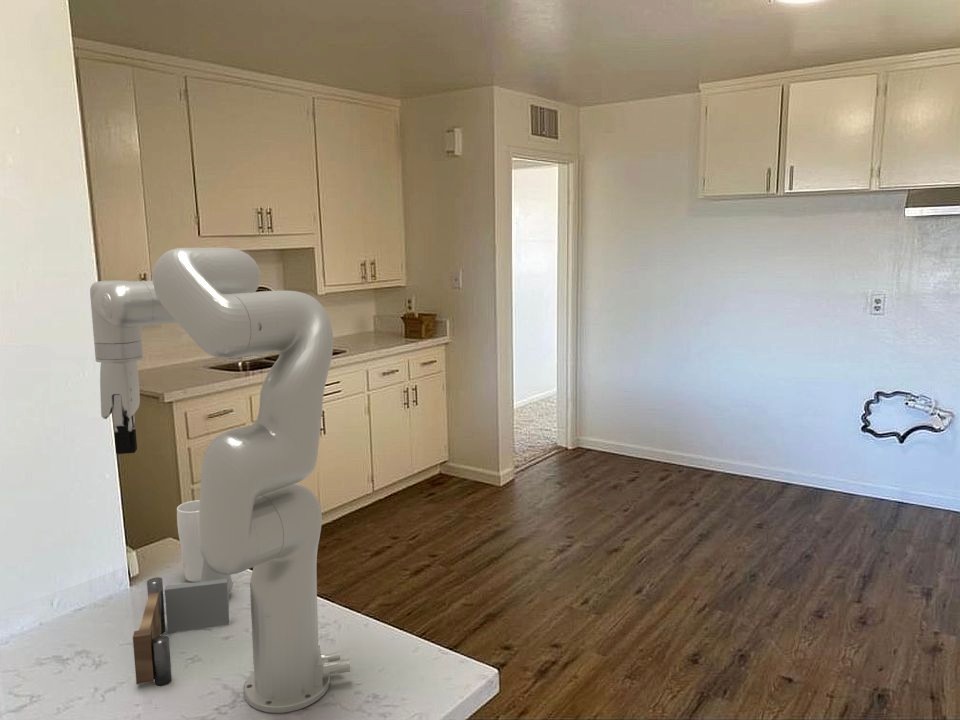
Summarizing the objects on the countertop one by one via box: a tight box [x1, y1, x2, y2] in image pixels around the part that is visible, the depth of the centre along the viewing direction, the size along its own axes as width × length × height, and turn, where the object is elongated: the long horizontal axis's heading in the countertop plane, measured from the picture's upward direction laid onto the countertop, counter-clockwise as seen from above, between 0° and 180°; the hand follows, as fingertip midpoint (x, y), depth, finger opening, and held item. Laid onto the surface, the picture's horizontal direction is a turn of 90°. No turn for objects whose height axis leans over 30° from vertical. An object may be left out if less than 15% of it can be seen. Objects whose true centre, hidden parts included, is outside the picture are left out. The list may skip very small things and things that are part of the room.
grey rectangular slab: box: [164, 579, 230, 634], centre depth 126 cm, size 10×2×8 cm, turn 106°
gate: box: [132, 593, 162, 685], centre depth 116 cm, size 15×2×8 cm, turn 17°
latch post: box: [152, 634, 173, 687], centre depth 110 cm, size 2×2×7 cm
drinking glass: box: [176, 499, 204, 583], centre depth 144 cm, size 7×7×15 cm
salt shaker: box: [200, 560, 234, 597], centre depth 136 cm, size 6×6×13 cm
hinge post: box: [146, 577, 167, 636], centre depth 124 cm, size 2×2×10 cm
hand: (126, 452), depth 130 cm, fingers closed
